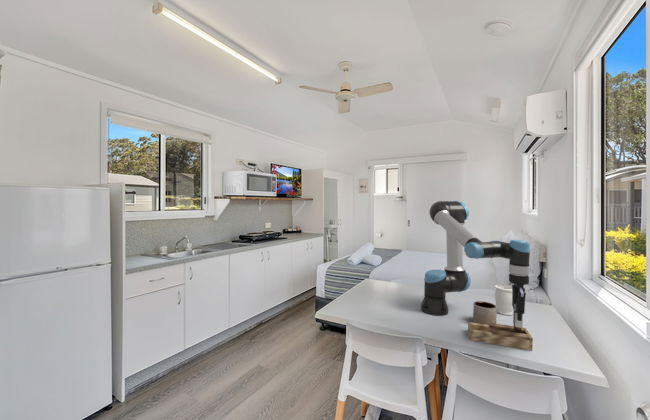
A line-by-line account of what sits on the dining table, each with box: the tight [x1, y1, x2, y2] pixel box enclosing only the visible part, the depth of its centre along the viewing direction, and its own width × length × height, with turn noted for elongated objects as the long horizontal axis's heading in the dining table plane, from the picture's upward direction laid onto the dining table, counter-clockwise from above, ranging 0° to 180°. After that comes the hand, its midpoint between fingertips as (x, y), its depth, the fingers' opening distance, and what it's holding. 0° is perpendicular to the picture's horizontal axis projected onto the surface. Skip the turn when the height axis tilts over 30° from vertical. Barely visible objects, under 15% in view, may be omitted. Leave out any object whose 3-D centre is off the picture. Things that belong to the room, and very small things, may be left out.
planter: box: [472, 300, 497, 325], centre depth 151 cm, size 11×11×10 cm
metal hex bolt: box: [513, 304, 521, 333], centre depth 129 cm, size 5×5×16 cm
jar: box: [494, 284, 513, 316], centre depth 165 cm, size 11×10×15 cm
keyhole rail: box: [467, 321, 534, 351], centre depth 132 cm, size 24×11×5 cm, turn 68°
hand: (517, 325), depth 129 cm, fingers closed on metal hex bolt, 3 cm apart
